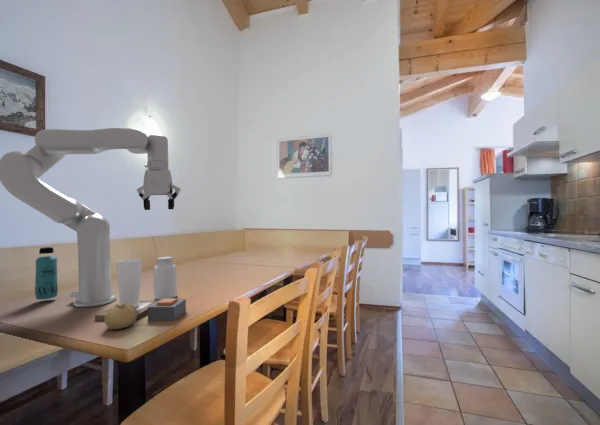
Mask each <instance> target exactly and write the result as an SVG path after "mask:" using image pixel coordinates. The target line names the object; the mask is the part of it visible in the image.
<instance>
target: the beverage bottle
mask: <svg viewBox="0 0 600 425" xmlns="http://www.w3.org/2000/svg"><path fill="white" fill-rule="evenodd" d="M53 253H54V247H51V246H50V247H49V246H46V247H45V246H44V247H40V248H39V255H43V256H40V257H39V256H38V258H36V259H35V260H34V261H35V283H34V284H35V286H34V289H35V290H34V294H35V295H34V296H35V299H36V300H49V299H53V298H56V297H58V294H59V293H58V292H59V289H58V279H59V278H58V258H57V257H56V256H55V255H47V256H44V255H45V254H53Z"/></svg>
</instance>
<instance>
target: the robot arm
mask: <svg viewBox="0 0 600 425" xmlns="http://www.w3.org/2000/svg"><path fill="white" fill-rule="evenodd" d="M34 143H35V145H34V146H33V147H31V148H30V149H29V150H28V151H26V152H23V151H16V150H14V151H9V152H7V153H4V155H2V156H1V157H0V184H1V185H2V186H3V187H4V189H5V190H6V191H8V193H10V194H11V195H12V196H13V197H15V198H16V199H17V200H19V201H21V202H23V203H24V204H26V205H28V206H30V208H32V209H34V210H35V211H37V212H40V213H41V214H43V215H45V216H46V217H48V218H49V219H50V220H52V221H53V222H55V223H57V224H62V225H64V226H66V227H67V228H68V229H71V230H72V231H74V232H76V240H77V241H76V242H77V259H78V260H77V261H78V262H77V263H78V264H77V265H78V290H72V292H71V293H70V294H69V297H70V298H75V300H74V302H73V306H74V307H77V308H90V307H96V306H103V305H107V304H110V303H112V302H115V300H116V299H117V296H116V295H115V294H112V293H111V292H112V290H111V288H112V286H111V282H112V280H111V250H110V249H111V246H110V240H111V239H110V235H111V232H110V229H111V226H110V225H111V224H110V222H109V221H108V219H107V218H105V217H104V216H102V215H101V214H99V213H97V212H95V210H92V209H91V208H90V207H88V206H86V205H85V204H83V203H81V202H79V201H78V200H76V199H75V198H72V197H68V196H66V195H65V194H63V193H61V192H59V191H58V190H56V189H54V188H53V187H52V186H50V185H48V184H47V183H45V182H43V181H42V180H41V179H39V178H40V177H42V176H43V175H44V174H46V173H47V172H48V171H49V170H50V169H52V168H53V167H54V166H55V165H57V164H58V163H59V162H60V161H62V159H64V158H65V156H66V155H96V154H100V153H103V152H105V151H110V150H127V151H128V152H129V153H131V154H134V155H135V154H136V155H142V154H147V163H145V164H144V168H146V169H145V171H144V176H143V183H142V185H141V186H140V187H138V188H137V189H136V191H137V193H138V196H139V197H140V198H141V199H142V201H143V202H142V203H143V209H144V211H150V210H151V201H150V200H149V199H150V198H151V197H152V196H167V197H168V199H167V209H168V210H174V209H175V200H176V198H177V197H178V196H179V193H180V192H181V190H182V189H181V188H180V187H179V186H177V185H174V184H173V179H172V177H173V176H172V173H171V170H170V169H169V140H168V138H167V137H166V136H165V135H161V134H149V135H148V136H147V134H146V133H145V132H144V131H143V130H140V129H137V128H129V127H125V128H124V127H111V128H110V127H109V128H108V127H107V128H97V129H59V128H58V129H57V128H56V129H55V128H54V129H53V128H52V129H50V128H47V129H41V130H40V131H38V132H37V133H36V134H35V137H34ZM174 190H175V191H174ZM173 191H174V192H173Z"/></svg>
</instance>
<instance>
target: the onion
mask: <svg viewBox="0 0 600 425" xmlns="http://www.w3.org/2000/svg"><path fill="white" fill-rule="evenodd" d="M110 308H111V307H110ZM108 309H109V308H108ZM136 318H137V310H136V308H135V307H134V306H132V305H130V304H127V303H122V304H120V303H116V304H115V305H114V306H112V308H111V309H109V310H108V312H107V313H106V315H105V319H104V320H103V321H104V324H105V325H106V327H107V328H108V329H109V330H120V329H125V328H128V327H131V326H132V325H134V323H135V322H136V321H137V320H136Z"/></svg>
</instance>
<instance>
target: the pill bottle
mask: <svg viewBox="0 0 600 425" xmlns="http://www.w3.org/2000/svg"><path fill="white" fill-rule="evenodd" d="M156 259H157V260H156V264H157V265H155V266H154V267H153V296H154V300H161V299H172V298H176V297H177V296H178V285H177V284H178V278H177V277H178V275H177V274H178V272H177V266H176V265H175V264H174V263H173V261H174V259H173V257H172V256H164V257H157V258H156Z"/></svg>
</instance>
